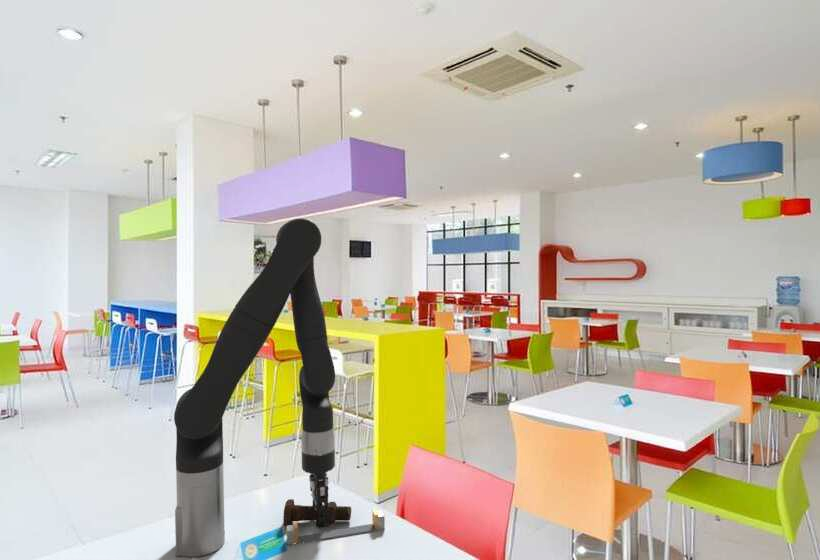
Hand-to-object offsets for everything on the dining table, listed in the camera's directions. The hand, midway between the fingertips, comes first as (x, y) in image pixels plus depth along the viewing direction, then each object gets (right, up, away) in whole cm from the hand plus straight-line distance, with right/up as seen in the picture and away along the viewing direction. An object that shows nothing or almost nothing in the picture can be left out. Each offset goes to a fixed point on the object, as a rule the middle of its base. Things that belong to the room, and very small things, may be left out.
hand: (319, 519), depth 116 cm
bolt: (0, -1, 0) cm, 1 cm away
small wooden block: (+14, -1, -3) cm, 14 cm away
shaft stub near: (-4, -1, -8) cm, 9 cm away
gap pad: (+5, -1, -5) cm, 7 cm away
